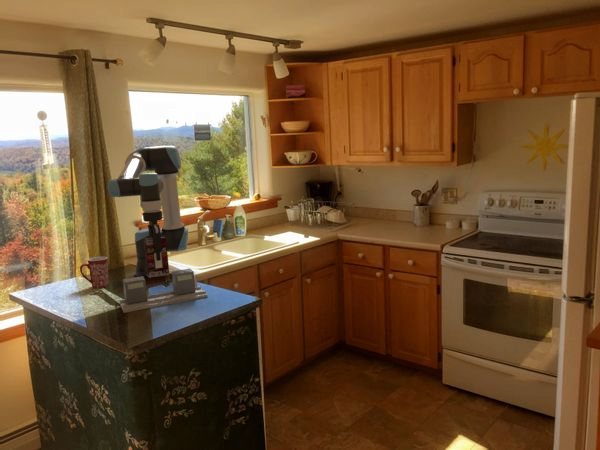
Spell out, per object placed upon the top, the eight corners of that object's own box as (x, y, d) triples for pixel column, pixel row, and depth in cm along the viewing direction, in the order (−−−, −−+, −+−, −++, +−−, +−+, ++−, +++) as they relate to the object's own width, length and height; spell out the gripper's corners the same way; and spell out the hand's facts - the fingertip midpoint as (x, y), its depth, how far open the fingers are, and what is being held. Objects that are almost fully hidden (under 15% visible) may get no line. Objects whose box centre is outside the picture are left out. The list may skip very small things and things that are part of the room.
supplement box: (148, 278, 206) (144, 239, 204) (147, 275, 210) (142, 238, 208) (170, 274, 209) (166, 237, 207) (167, 272, 214) (164, 235, 211)
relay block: (182, 288, 229) (181, 276, 228) (192, 286, 232) (191, 273, 231) (187, 291, 225) (185, 278, 224) (197, 288, 228) (196, 275, 227)
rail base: (119, 304, 211) (116, 278, 209) (199, 289, 225) (196, 265, 224) (123, 312, 199) (120, 285, 197) (207, 297, 214) (205, 271, 212)
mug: (109, 282, 248) (105, 255, 246) (112, 286, 240) (108, 258, 238) (81, 286, 242) (77, 259, 240) (83, 291, 234) (79, 263, 232)
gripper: (139, 210, 212) (144, 264, 216) (146, 214, 196) (152, 272, 200) (157, 208, 215) (162, 261, 219) (165, 212, 199) (171, 269, 203)
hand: (157, 266), depth 209 cm, fingers closed on supplement box, 5 cm apart
